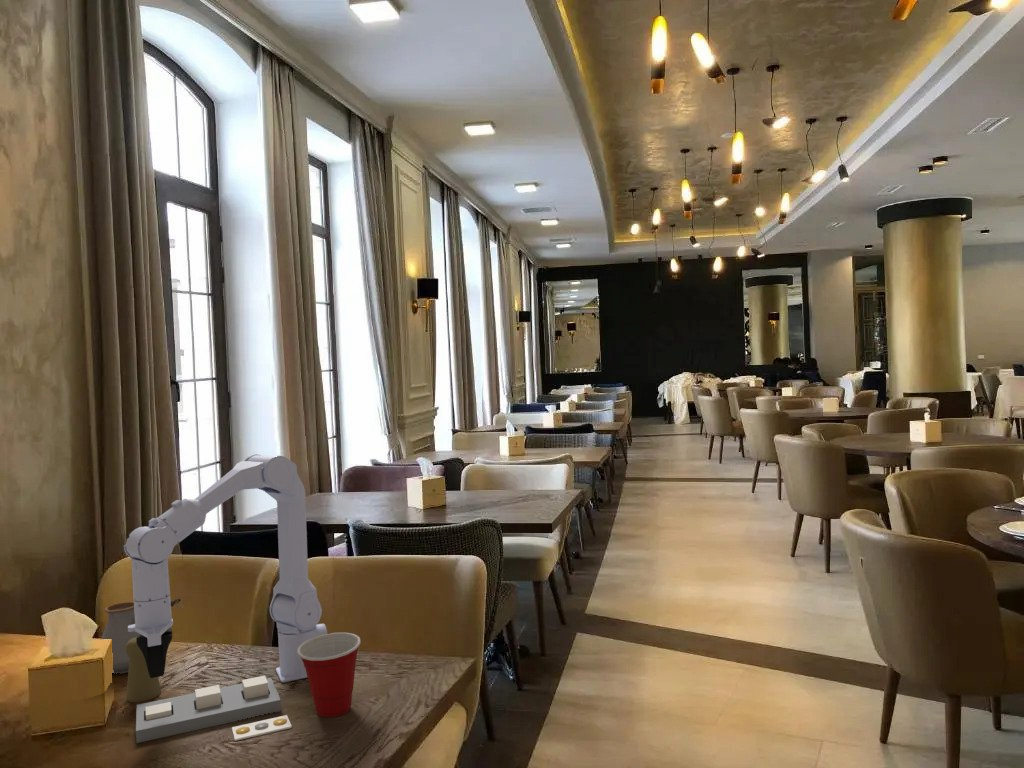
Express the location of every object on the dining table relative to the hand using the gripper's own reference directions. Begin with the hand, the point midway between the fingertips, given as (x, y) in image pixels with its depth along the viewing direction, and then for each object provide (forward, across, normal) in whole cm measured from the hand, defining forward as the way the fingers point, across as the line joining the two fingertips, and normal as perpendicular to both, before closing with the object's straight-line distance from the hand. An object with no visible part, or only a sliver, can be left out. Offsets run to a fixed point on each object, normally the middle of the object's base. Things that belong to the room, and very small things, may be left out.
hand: (156, 675), depth 136 cm
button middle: (+7, 0, +8) cm, 10 cm away
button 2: (+7, 0, +16) cm, 17 cm away
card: (+8, +12, +15) cm, 21 cm away
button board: (+8, 0, +8) cm, 12 cm away
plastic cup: (+9, +11, +27) cm, 31 cm away
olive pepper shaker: (+9, -16, -3) cm, 18 cm away
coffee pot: (+9, -32, -3) cm, 33 cm away
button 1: (+8, 0, 0) cm, 8 cm away
